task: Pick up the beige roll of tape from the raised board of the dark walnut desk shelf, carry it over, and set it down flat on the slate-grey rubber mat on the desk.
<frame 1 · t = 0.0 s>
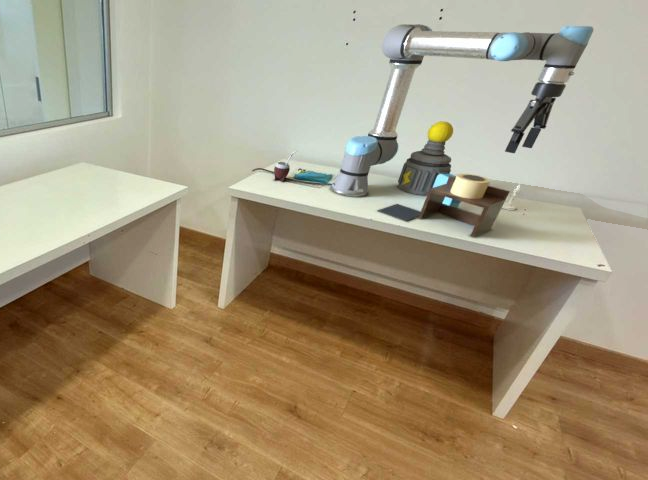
hand: (518, 149, 141), 28 cm above the table, tool pointing down, fingers open, 13 cm apart
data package: (441, 205, 173), on the table
mate gourd: (280, 180, 198), on the table
tape roll: (466, 194, 149), point 12 cm above the table, touching desk shelf
desk mat: (401, 212, 165), on the table
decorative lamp: (418, 189, 189), on the table
desk shelf: (453, 223, 156), on the table
chess piece: (507, 208, 171), on the table
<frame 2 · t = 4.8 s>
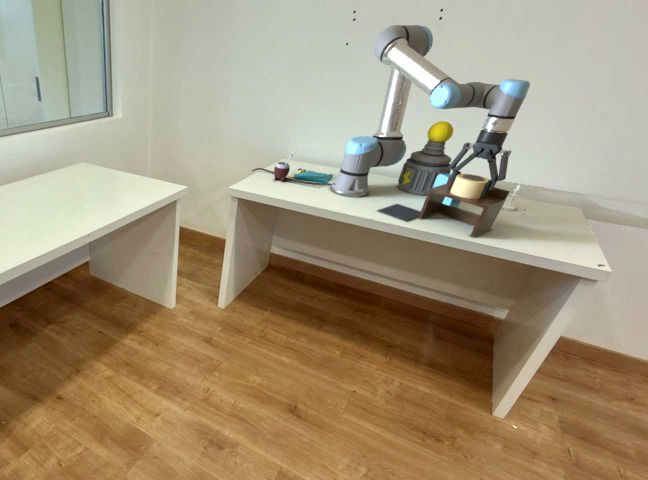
hand: (466, 193, 149), 12 cm above the table, tool pointing down, fingers closed on tape roll, 10 cm apart
tape roll: (466, 193, 149), point 12 cm above the table, touching gripper
everything else where it was.
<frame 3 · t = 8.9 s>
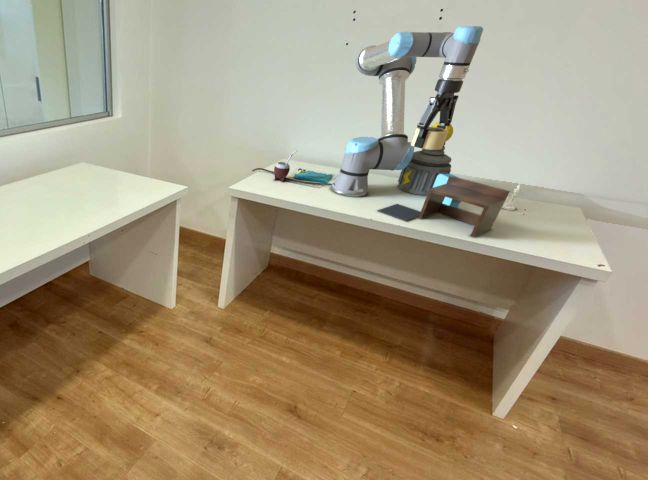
hand: (426, 145, 150), 27 cm above the table, tool pointing down, fingers closed on tape roll, 10 cm apart
tape roll: (426, 146, 151), point 26 cm above the table, touching gripper
everything else where it was.
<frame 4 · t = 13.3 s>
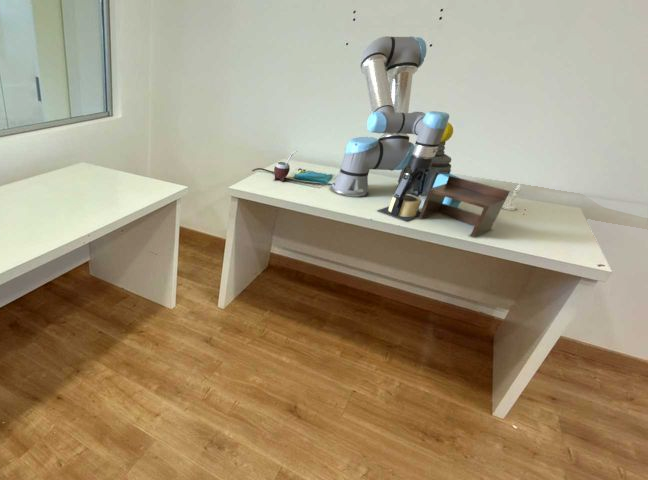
hand: (402, 211, 164), 1 cm above the table, tool pointing down, fingers closed on tape roll, 10 cm apart
tape roll: (402, 212, 164), resting on desk mat, touching gripper
everything else where it was.
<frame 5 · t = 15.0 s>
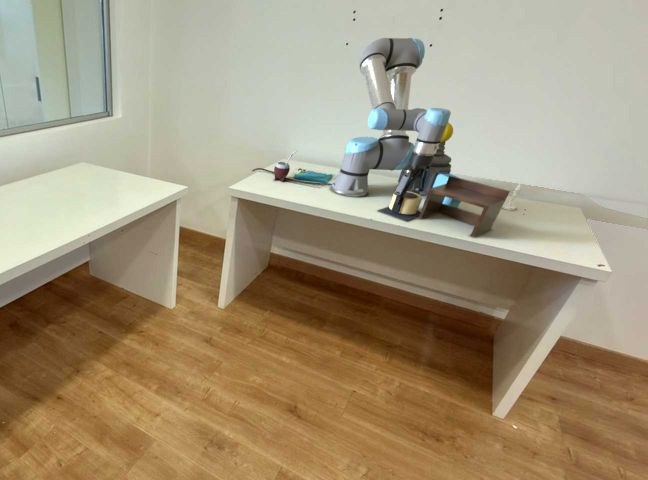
hand: (402, 208, 164), 2 cm above the table, tool pointing down, fingers closed on tape roll, 10 cm apart
tape roll: (402, 209, 164), point 1 cm above the table, touching gripper
everything else where it was.
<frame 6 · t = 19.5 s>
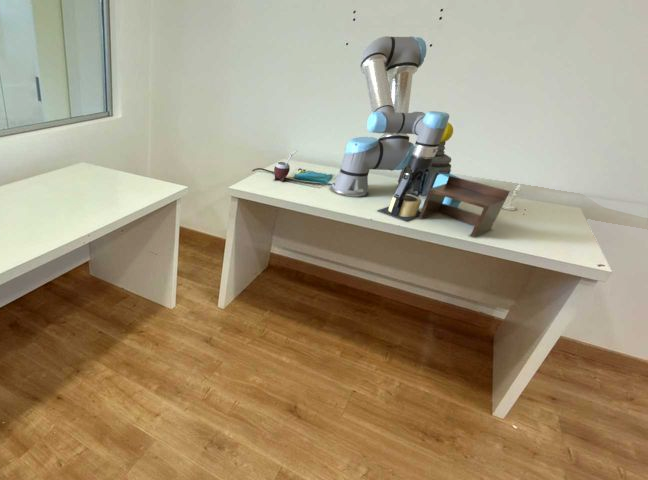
hand: (402, 211, 164), 1 cm above the table, tool pointing down, fingers closed on tape roll, 10 cm apart
tape roll: (402, 212, 164), resting on desk mat, touching gripper
everything else where it was.
when the fingers open (2 cm above the table, at t = 23.7 s): tape roll drops 1 cm, resting on desk mat.
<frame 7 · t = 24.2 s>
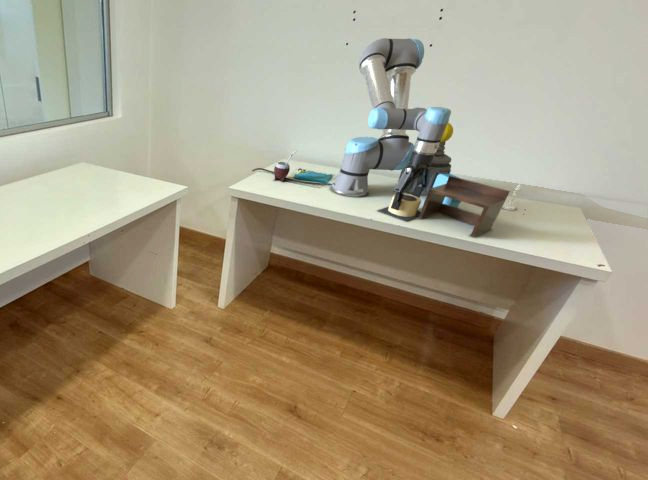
hand: (404, 205, 163), 3 cm above the table, tool pointing down, fingers open, 13 cm apart
tape roll: (401, 211, 165), resting on desk mat
everything else where it was.
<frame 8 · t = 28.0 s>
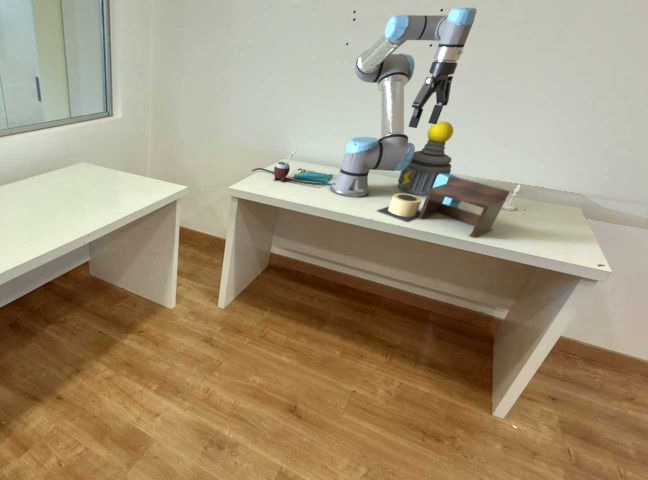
hand: (422, 125, 152), 33 cm above the table, tool pointing down, fingers open, 13 cm apart
nothing on the table moved.
at the end: tape roll inside the target area (0.0 cm from its centre), resting on desk mat; tape roll tilted 0°; the gripper is holding nothing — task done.
